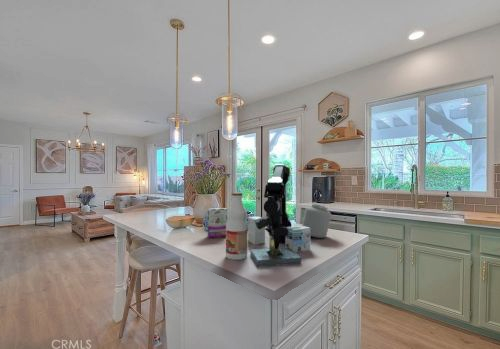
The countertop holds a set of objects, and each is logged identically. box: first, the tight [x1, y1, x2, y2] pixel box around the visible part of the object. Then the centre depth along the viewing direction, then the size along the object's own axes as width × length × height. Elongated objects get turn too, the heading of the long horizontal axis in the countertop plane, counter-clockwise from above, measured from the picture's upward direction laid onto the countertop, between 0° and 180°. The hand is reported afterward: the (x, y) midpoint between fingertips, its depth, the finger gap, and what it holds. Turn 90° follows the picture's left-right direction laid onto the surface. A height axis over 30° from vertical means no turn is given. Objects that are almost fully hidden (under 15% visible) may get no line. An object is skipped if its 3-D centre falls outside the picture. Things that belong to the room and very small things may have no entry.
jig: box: [250, 246, 302, 268], centre depth 101 cm, size 18×14×2 cm
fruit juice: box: [225, 191, 248, 261], centre depth 104 cm, size 9×9×28 cm
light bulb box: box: [284, 224, 311, 253], centre depth 115 cm, size 11×7×11 cm, turn 117°
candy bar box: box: [207, 207, 228, 239], centre depth 138 cm, size 11×5×16 cm, turn 104°
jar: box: [301, 194, 332, 239], centre depth 139 cm, size 19×15×25 cm
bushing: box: [268, 235, 281, 254], centre depth 101 cm, size 4×4×7 cm
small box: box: [247, 216, 266, 245], centre depth 127 cm, size 8×6×13 cm
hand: (274, 247), depth 101 cm, fingers closed on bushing, 4 cm apart
